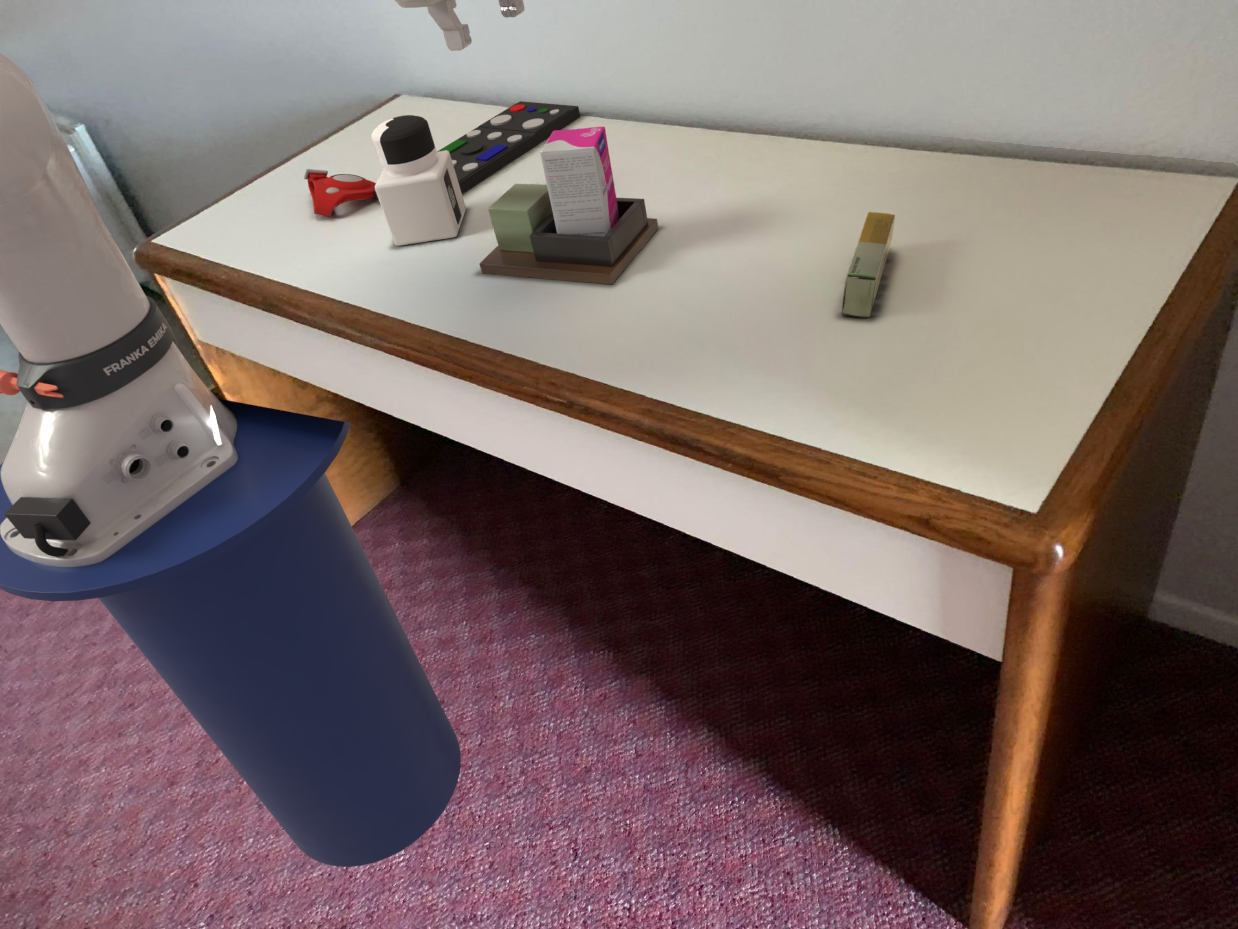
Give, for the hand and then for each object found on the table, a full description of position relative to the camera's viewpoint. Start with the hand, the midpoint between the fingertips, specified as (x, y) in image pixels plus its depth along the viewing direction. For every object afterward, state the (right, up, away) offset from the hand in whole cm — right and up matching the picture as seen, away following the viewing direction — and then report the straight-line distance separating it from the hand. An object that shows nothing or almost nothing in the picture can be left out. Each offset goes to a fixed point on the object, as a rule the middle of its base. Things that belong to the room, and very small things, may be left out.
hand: (488, 30), depth 86 cm
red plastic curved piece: (-25, -5, +39) cm, 46 cm away
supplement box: (+9, -16, +14) cm, 23 cm away
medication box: (+35, -23, +1) cm, 42 cm away
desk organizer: (+7, -17, +16) cm, 24 cm away
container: (-11, -12, +27) cm, 31 cm away
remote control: (-7, +2, +42) cm, 43 cm away
